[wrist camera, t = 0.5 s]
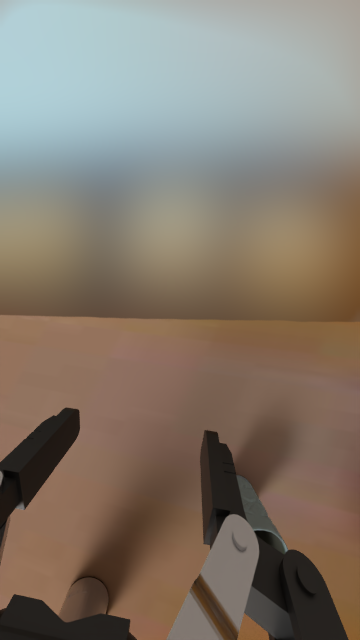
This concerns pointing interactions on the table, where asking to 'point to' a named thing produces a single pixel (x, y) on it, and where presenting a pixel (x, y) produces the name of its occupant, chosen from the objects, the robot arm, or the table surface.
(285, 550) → the grey cup
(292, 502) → the table surface
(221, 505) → the robot arm
